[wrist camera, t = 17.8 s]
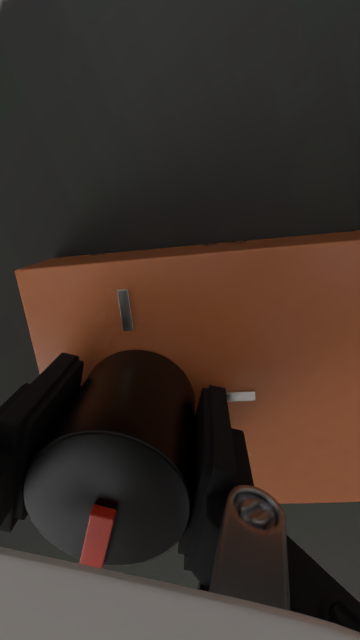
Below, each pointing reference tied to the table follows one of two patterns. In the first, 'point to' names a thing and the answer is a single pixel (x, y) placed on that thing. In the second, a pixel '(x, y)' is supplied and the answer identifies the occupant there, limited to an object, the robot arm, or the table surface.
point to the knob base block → (230, 341)
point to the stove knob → (117, 464)
